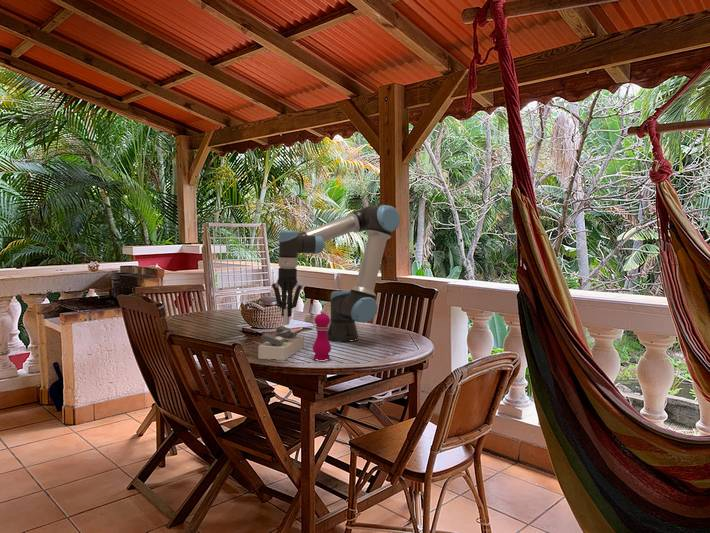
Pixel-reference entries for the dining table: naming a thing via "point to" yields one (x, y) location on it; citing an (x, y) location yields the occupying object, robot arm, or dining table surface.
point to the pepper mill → (322, 337)
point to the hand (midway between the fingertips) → (286, 324)
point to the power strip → (281, 348)
